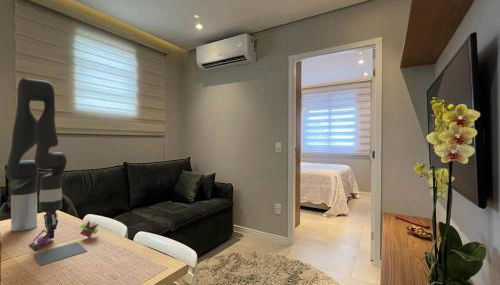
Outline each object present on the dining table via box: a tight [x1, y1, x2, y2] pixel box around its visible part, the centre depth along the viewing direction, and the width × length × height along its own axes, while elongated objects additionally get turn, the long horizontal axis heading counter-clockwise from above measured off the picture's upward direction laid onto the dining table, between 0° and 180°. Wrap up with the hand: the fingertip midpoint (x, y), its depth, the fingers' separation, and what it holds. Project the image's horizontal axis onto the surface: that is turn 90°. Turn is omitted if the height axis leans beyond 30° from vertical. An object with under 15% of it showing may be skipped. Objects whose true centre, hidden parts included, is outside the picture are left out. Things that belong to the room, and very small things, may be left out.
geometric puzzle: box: [79, 219, 99, 238], centre depth 106 cm, size 7×7×8 cm
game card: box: [28, 229, 54, 252], centre depth 99 cm, size 7×5×9 cm
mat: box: [33, 241, 88, 267], centre depth 92 cm, size 13×14×1 cm
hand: (50, 238), depth 102 cm, fingers closed
